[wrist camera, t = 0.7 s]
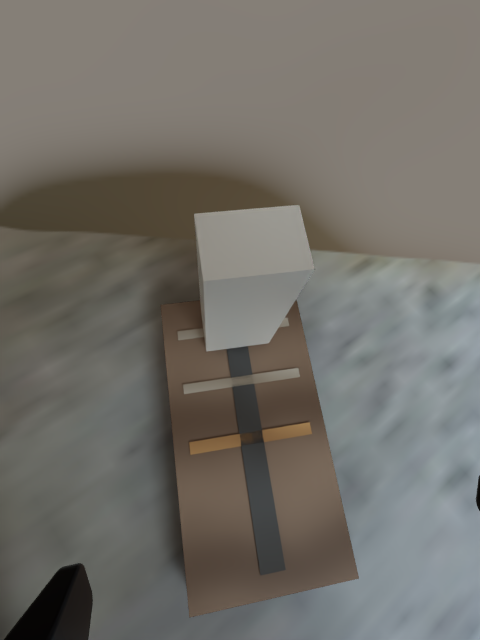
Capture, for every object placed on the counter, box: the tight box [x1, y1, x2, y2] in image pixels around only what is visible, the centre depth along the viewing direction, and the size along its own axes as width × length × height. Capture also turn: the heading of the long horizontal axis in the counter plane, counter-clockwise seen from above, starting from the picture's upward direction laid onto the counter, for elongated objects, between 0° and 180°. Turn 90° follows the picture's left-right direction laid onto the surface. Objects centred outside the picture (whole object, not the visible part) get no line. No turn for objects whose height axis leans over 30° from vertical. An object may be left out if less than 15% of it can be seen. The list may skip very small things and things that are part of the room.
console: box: [161, 300, 359, 617], centre depth 19 cm, size 15×8×3 cm, turn 9°
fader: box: [194, 205, 315, 352], centre depth 15 cm, size 2×4×9 cm
